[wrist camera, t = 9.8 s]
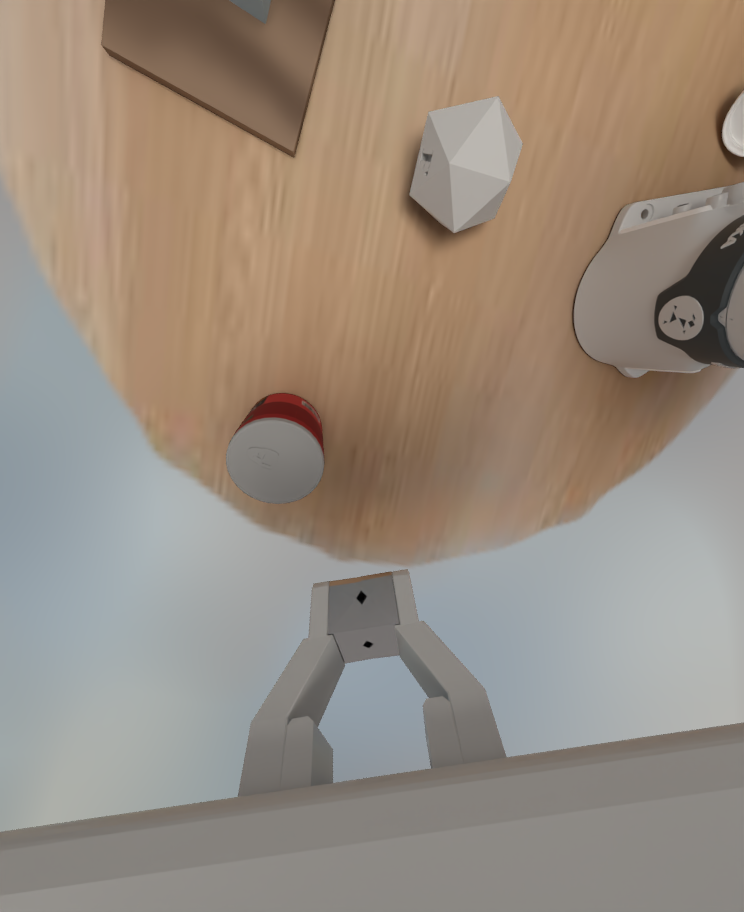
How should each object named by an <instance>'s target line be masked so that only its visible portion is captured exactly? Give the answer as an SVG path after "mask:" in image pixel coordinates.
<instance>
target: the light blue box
mask: <svg viewBox="0 0 744 912" xmlns="http://www.w3.org/2000/svg"><path fill="white" fill-rule="evenodd" d="M229 1H231V2H232V3H234V4H235V5H237V6H238V7H240V8H241V9H243V10H244V11H246V12H248V13H249V14H251V15H252V16H254V17H255V18H257V19H258V20H260V21H261V22H263V23H264V24H266V21H267V17H268V12H269V7H270V3H271V0H229Z"/></svg>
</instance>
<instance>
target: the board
mask: <svg viewBox="0 0 744 912" xmlns="http://www.w3.org/2000/svg"><path fill="white" fill-rule="evenodd" d="M334 1H335V0H271V3H270V7H269V12H268V17H267V21H266V24H264V23H263V22H261V21H260V20H258V19H257V18H255V17H254V16H252V15H251V14H249V13H248V12H246V11H244V10H243V9H241V8H240V7H238V6H237V5H235V4H234V3H232V2H231V1H229V0H105V11H104V21H103V32H102V42H101V45H102V46H103V48H104V49H105V50H106V51H107V53H108V54H109V55H110V56H112V57H114V58H116V59H117V60H119V61H121V62H123V63H125V64H126V65H128V66H130V67H132V68H134V69H135V70H137V71H139V72H141V73H143V74H145V75H146V76H148V77H150V78H152V79H154V80H155V81H157V82H159V83H161V84H163V85H164V86H166V87H168V88H170V89H172V90H173V91H175V92H177V93H179V94H181V95H182V96H184V97H186V98H188V99H190V100H191V101H193V102H195V103H197V104H199V105H200V106H202V107H204V108H206V109H208V110H210V111H211V112H213V113H215V114H217V115H219V116H220V117H222V118H224V119H226V120H228V121H229V122H231V123H233V124H235V125H237V126H238V127H240V128H242V129H244V130H246V131H247V132H249V133H251V134H253V135H255V136H256V137H258V138H260V139H262V140H264V141H266V142H267V143H269V144H271V145H273V146H275V147H276V148H278V149H280V150H282V151H284V152H285V153H287V154H289V155H291V156H293V157H294V156H295V152H296V148H297V144H298V141H299V137H300V133H301V129H302V125H303V121H304V117H305V113H306V110H307V106H308V102H309V98H310V94H311V90H312V86H313V83H314V79H315V75H316V71H317V67H318V63H319V59H320V55H321V52H322V48H323V44H324V40H325V36H326V32H327V28H328V24H329V21H330V17H331V13H332V9H333V5H334Z"/></svg>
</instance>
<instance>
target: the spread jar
mask: <svg viewBox="0 0 744 912" xmlns="http://www.w3.org/2000/svg"><path fill="white" fill-rule="evenodd" d="M722 140H723V143H724V145H725V147H726V148H727V149H728V150H729V151H730V152H731V153H733V154H735V155H737V156H740V157H744V90H743V91H742V92H741V94H740V95H739V96H738V98H737V99H736V101H735V102H734V103H733V105H732V106H731V108H730V110H729V112H728V113H727V115H726V118H725V120H724V123H723V128H722Z"/></svg>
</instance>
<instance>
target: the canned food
mask: <svg viewBox="0 0 744 912" xmlns="http://www.w3.org/2000/svg"><path fill="white" fill-rule="evenodd" d="M226 464H227V469H228V472H229V474H230V476H231V478H232V480H233V481H234V483H235V484H236V485H237V487H239V488H240V489H241V490H242V491H243V492H244V493H246V494H247V495H249V496H250V497H252V498H255V499H257V500H259V501H263V502H267V503H274V504H282V503H290V502H294V501H297V500H299V499H301V498H304V497H305V496H307V495H308V494H309V493H311V492H312V491H313V490H314V489H315V488H316V486H317V485H318V483H319V482H320V480H321V477H322V474H323V470H324V448H323V436H322V425H321V421H320V417H319V415H318V413H317V412H316V410H315V409H314V408H313V407H312V405H310V404H309V403H308V402H307V401H306V400H304V399H302V398H300V397H298V396H295V395H292V394H286V393H279V394H273V395H269V396H267V397H265V398H263V399H261V400H260V401H259V402H257V404H256V405H255V406H254V407H253V408H252V410H251V411H250V413H249V414H248V415H247V417H246V418H245V420H244V421H243V422H242V424H241V425H240V427H239V428H238V429H237V431H236V432H235V434H234V436H233V437H232V439H231V441H230V443H229V446H228V450H227V454H226Z"/></svg>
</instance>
